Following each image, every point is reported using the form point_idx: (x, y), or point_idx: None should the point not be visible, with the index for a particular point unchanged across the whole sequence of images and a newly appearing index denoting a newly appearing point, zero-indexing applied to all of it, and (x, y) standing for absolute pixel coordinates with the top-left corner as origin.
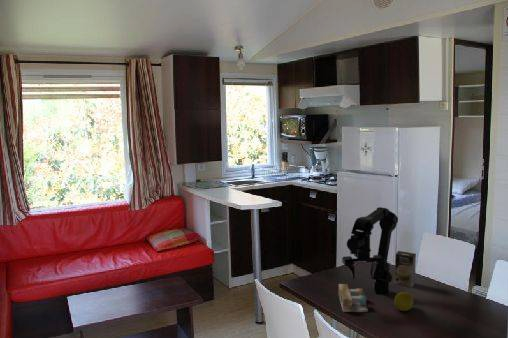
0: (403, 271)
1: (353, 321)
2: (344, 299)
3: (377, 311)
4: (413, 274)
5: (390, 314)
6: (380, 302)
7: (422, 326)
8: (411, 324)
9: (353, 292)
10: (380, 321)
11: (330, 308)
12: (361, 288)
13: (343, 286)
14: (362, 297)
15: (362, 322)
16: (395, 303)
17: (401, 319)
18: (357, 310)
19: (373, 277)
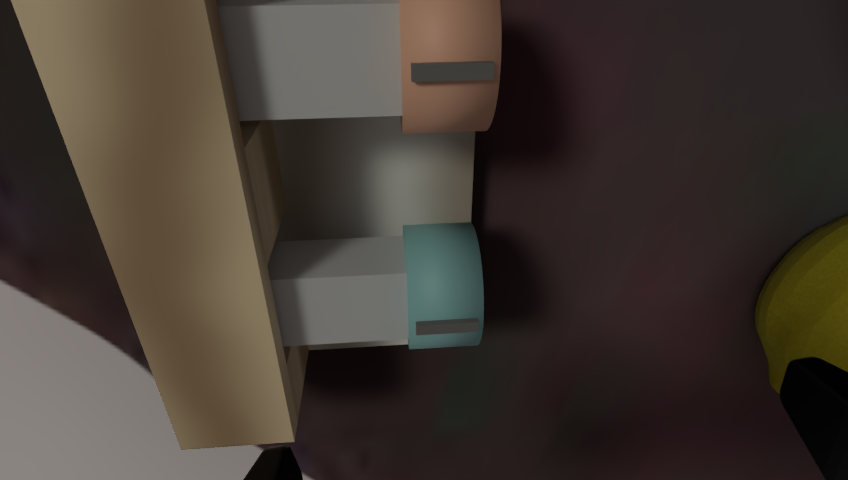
0: None
1: (320, 464)
2: (201, 446)
3: (555, 307)
4: None
5: (647, 346)
6: (670, 100)
7: (776, 466)
8: (722, 454)
9: (327, 112)
10: (524, 444)
11: (78, 288)
12: (477, 76)
13: None
14: (434, 347)
15: (387, 468)
16: (770, 347)
17: (692, 406)
18: (364, 342)
19: (796, 422)
